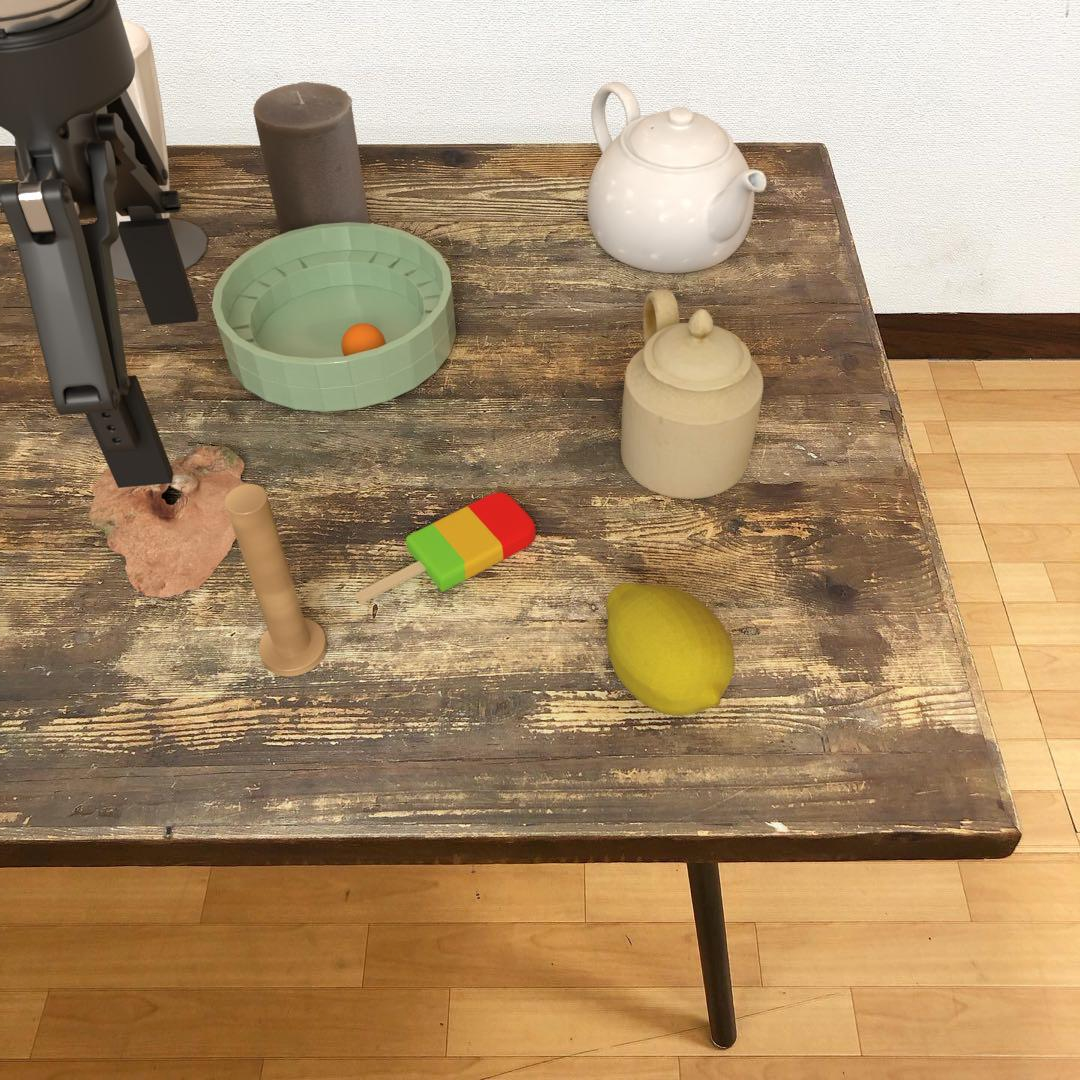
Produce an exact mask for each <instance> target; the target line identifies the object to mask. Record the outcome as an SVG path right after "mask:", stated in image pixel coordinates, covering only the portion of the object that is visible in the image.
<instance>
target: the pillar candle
mask: <svg viewBox="0 0 1080 1080" xmlns="http://www.w3.org/2000/svg"><path fill="white" fill-rule="evenodd" d="M253 116H254V121H255V126H256V131H257V136H258V141H259V146H260V150H261V154H262V159H263V163H264V168H265V173H266V177H267V182H268V187H269V190H270V194H271V198H272V203H273V207H274V210H275V214H276V219H277V223H278V227H279V235H281V234H284V233H286V232H289V231H292V230H297V229H301V228H306V227H310V226H315V225H320V224H331V223H344V222H353V223H368V224H370V215H369V210H368V203H367V196H366V189H365V183H364V177H363V171H362V164H361V157H360V151H359V145H358V139H357V131H356V126H355V120H354V119H355V118H354V112H353V99H352V97H351V96H350V95H349V94H348V92H347V90H343V89H342V88H341V87H337V86H334V85H331V84H327V83H321V82H311V81H300V82H297V83H291V84H287V85H286V84H285V85H281V86H279V87H276V88H273V89H271V90H268V91H267V92H264V93H263V94H262V95H260V97H258V98H257V100H256V101H255V102H254V105H253Z"/></svg>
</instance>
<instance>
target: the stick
mask: <svg viewBox="0 0 1080 1080" xmlns="http://www.w3.org/2000/svg"><path fill="white" fill-rule="evenodd" d="M225 506H226V509H227V512H228V515H229V518H230V521H231V524H232V527H233V529H234V532H235V535H236V542H237V543H238V547H239V550H240V553H241V555H242V558H243V559H242V560H243V562H244V564H245V565H244V566H245V567H246V570H247V574H248V576H249V579H250V582H251V585H252V589H253V590H254V593H255V596H256V599H257V602H258V604H259V608H260V612H261V614H262V617H263V620H264V623H265V626H266V629H267V630H266V631H265V632H264V633H263V634H262V636H261V638H260V640H259V644H258V654H259V657H260V659H261V662H262V664H263V666H264V667H265V668H266V669H267V670H268V671H269V672H270V673H272V674H274V675H277V676H279V677H286V678H287V677H288V678H289V677H292V678H293V677H297V676H298V677H299V676H302V675H304V674H307V673H309V672H311V671H312V670H314V669H315V668H316V667H318V665H320V663H321V662H322V660H323V659H324V658H325V656H326V653H327V649H328V642H327V638H326V637H327V636H326V635H325V632H324V630H323V628H322V626H320V624H319V623H317V622H316V621H314V620H312V619H309V618H306V617H304V614H303V610H302V608H301V607H302V606H301V604H300V600H299V597H298V594H297V590H296V587H295V583H294V580H293V577H292V573H291V571H290V567H289V564H288V560H287V557H286V554H285V553H286V552H285V550H284V547H283V544H282V540H281V537H280V532H279V530H278V526H277V523H276V520H275V516H274V513H273V510H272V506H271V503H270V499H269V496H268V492H267V490H266V489H265V488H264V487H263V486H260V485H258V484H254V483H248V484H244V485H240V486H238V487H236V488H234V489H233V490H231V491H230V492H229V493H228V495H227V496H226V499H225Z"/></svg>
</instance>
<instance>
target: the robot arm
mask: <svg viewBox="0 0 1080 1080" xmlns="http://www.w3.org/2000/svg"><path fill="white" fill-rule="evenodd" d="M122 19H123V18H122V15H121V11H120V7H119V4H118V2H117V0H0V128H1V129H4V130H5V131H7V132H8V133H10V135H12V136H13V138H14V146H15V148H14V160H15V162H14V163H15V169H16V175H17V178H18V180H19V181H11V182H1V183H0V205H1V208H2V211H3V214H4V215H5V216H4V217H5V218H6V221H7V224H8V226H9V229H10V231H11V235H12V238H13V239H14V243H15V245H16V249H17V253H18V257H19V262H20V266H21V270H22V274H23V278H24V282H25V286H26V290H27V294H28V299H29V303H30V307H31V311H32V315H33V320H34V324H35V327H36V332H37V337H38V341H39V345H40V348H41V352H42V356H43V361H44V365H45V369H46V373H47V378H48V381H49V392H50V395H51V397H52V399H53V404H54V407H55V409H56V412H57V413H58V414H59V415H60V416H67V415H80V414H85V417H86V419H87V421H88V423H89V425H90V428H91V430H92V433H93V435H94V437H95V440H96V442H97V443H98V446H99V448H100V451H101V452H102V455H103V457H104V459H105V462H106V464H107V466H108V468H110V471H111V473H112V475H113V477H114V480H115V482H116V484H117V486H118V488H124V487H135V486H146V485H157V484H168V483H172V480H173V470H172V468H171V465H170V464H171V463H170V459H169V456H168V454H167V453H166V450H165V447H164V443H163V442H162V439H161V436H160V434H159V431H158V428H157V426H156V423H155V421H154V418H153V415H152V413H151V409H150V407H149V405H148V403H147V400H146V397H145V394H144V392H143V389H142V386H141V383H140V381H139V378H138V376H137V374H133V375H128V368H127V360H126V354H125V353H126V352H125V346H124V340H123V339H124V338H123V332H122V325H121V318H120V310H119V302H118V296H117V289H116V288H117V287H116V282H115V278H114V274H113V267H112V260H111V253H110V247H111V245H112V244H113V243H114V242H116V241H117V239H118V237H119V235H120V237H121V240H122V243H123V246H124V249H125V252H126V254H127V257H128V260H129V263H130V266H131V269H132V271H133V274H134V277H135V280H136V282H135V283H136V285H137V288H138V292H139V294H140V297H141V300H142V303H143V305H144V309H145V311H146V314H147V317H148V319H149V322H150V326H160V325H171V324H173V325H175V324H185V323H197V322H198V321H199V310H198V307H197V304H196V301H195V297H194V293H193V291H192V288H191V285H190V281H189V278H188V275H187V271H186V270H185V268H184V265H183V261H182V258H181V255H180V252H179V248H178V245H177V242H176V239H175V235H174V232H173V229H172V226H171V222H170V219H171V218H170V219H169V218H162V215H161V213H170V214H171V213H172V214H173V213H174V214H175V213H181V212H182V211H181V210H182V204H181V197H180V194H179V191H178V189H173V190H172V189H171V190H170V191H163V190H162V189H161V188H160V187H159V186H165V185H167V179H168V172H167V170H166V169H165V166H164V164H163V162H162V160H161V158H160V156H159V154H158V152H157V150H156V148H155V146H154V144H153V142H152V140H151V138H150V136H149V134H148V132H147V130H146V128H145V126H144V124H143V122H142V120H141V118H140V116H139V114H138V112H137V110H136V108H135V106H134V104H133V102H132V100H131V98H130V96H129V94H128V92H127V89H128V87H129V86H130V84H131V82H132V80H133V78H134V74H135V62H134V58H133V54H132V51H131V48H130V44H129V41H128V38H127V34H126V31H125V28H124V24H123V21H122ZM141 164H142V165H141ZM116 211H117V212H118V213H119V214H120V215H121V216H129V217H130V220H131V221H121V222H119V226H118V222H117V214H116ZM81 220H82V221H83V220H95V221H94V222H92V223H82V224H81Z"/></svg>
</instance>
